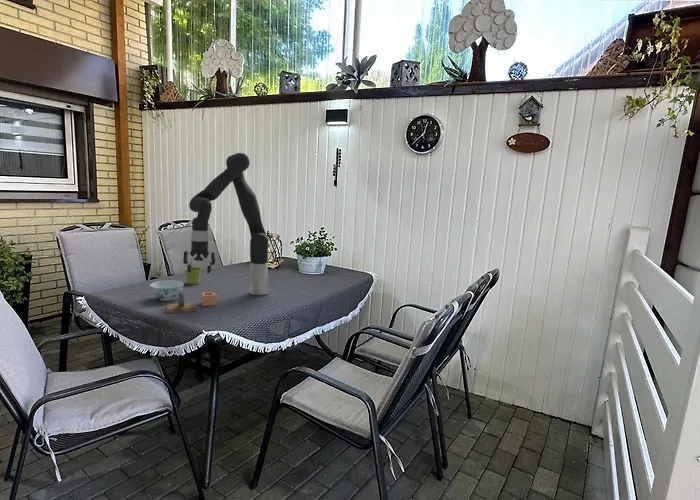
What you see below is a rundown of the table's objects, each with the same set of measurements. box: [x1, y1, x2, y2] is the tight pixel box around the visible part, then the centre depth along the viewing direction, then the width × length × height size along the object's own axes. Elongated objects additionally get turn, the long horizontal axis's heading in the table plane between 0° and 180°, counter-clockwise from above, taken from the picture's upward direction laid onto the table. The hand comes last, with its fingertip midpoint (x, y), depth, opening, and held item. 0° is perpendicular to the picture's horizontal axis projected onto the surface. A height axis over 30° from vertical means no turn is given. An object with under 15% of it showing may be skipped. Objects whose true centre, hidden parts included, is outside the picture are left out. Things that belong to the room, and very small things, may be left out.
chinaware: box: [149, 279, 184, 302], centre depth 191 cm, size 15×15×8 cm
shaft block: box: [166, 292, 197, 314], centre depth 177 cm, size 12×8×8 cm, turn 112°
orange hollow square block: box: [201, 291, 216, 307], centre depth 187 cm, size 6×6×5 cm
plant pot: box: [184, 266, 203, 285], centre depth 222 cm, size 9×9×9 cm
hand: (199, 272), depth 186 cm, fingers open, 8 cm apart
